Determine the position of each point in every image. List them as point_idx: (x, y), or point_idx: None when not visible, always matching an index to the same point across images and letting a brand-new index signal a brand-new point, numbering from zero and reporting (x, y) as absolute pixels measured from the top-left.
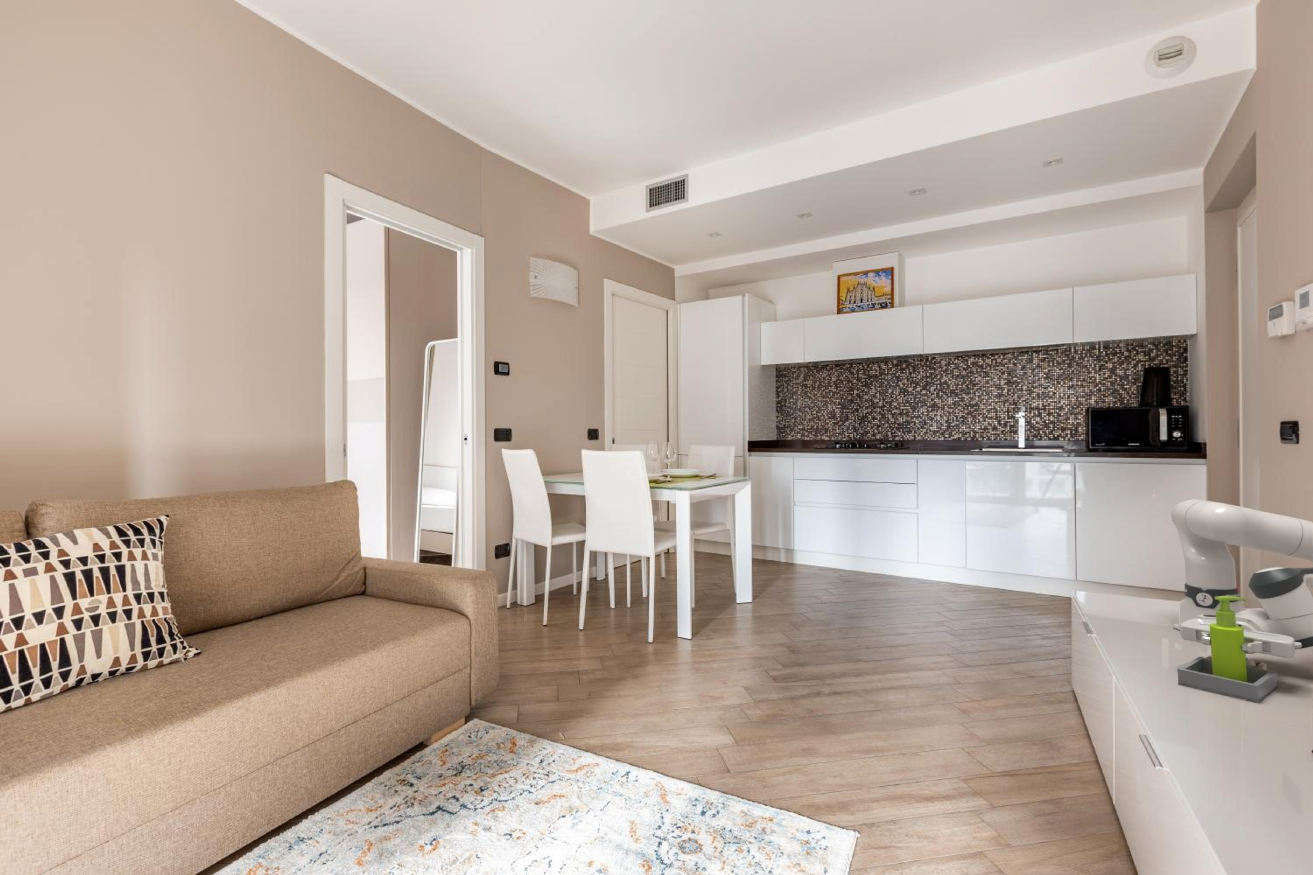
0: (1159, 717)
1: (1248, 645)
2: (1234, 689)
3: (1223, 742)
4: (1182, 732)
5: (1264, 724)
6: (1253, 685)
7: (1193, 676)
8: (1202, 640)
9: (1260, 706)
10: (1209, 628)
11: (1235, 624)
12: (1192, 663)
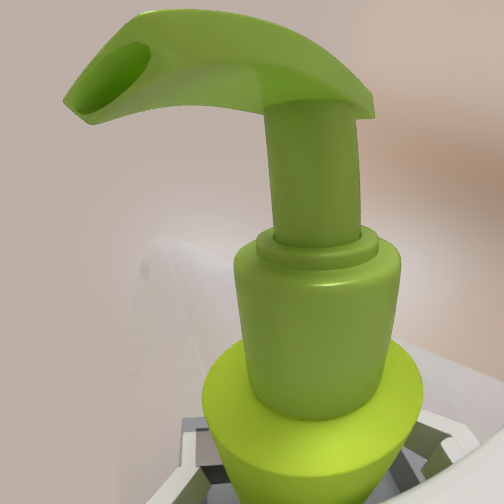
0: None
1: (193, 433)
2: None
3: (194, 290)
4: (231, 283)
5: (166, 353)
6: (191, 418)
7: None
8: None
9: None
10: (489, 471)
11: (247, 367)
12: (409, 456)
